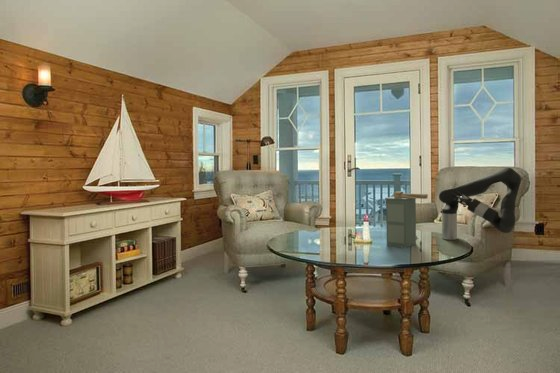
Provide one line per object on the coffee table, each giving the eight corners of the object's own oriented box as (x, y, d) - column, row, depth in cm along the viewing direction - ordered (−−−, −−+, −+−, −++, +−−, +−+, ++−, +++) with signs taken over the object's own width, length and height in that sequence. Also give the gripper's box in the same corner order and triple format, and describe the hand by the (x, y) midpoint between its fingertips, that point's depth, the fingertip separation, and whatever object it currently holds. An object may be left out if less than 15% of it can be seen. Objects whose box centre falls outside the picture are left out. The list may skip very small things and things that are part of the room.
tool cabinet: (396, 241, 272) (396, 196, 270) (417, 243, 262) (416, 196, 261) (385, 245, 261) (385, 198, 259) (406, 248, 251) (406, 198, 249)
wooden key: (397, 196, 264) (397, 191, 264) (428, 198, 250) (428, 192, 250) (393, 197, 260) (393, 192, 260) (424, 198, 247) (424, 193, 247)
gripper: (485, 201, 237) (460, 187, 246) (478, 203, 227) (451, 188, 235) (478, 212, 240) (453, 197, 249) (471, 215, 229) (445, 199, 238)
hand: (452, 193), depth 242 cm, fingers open, 8 cm apart
